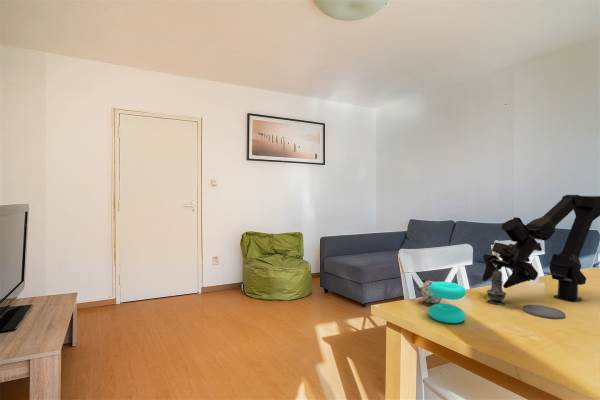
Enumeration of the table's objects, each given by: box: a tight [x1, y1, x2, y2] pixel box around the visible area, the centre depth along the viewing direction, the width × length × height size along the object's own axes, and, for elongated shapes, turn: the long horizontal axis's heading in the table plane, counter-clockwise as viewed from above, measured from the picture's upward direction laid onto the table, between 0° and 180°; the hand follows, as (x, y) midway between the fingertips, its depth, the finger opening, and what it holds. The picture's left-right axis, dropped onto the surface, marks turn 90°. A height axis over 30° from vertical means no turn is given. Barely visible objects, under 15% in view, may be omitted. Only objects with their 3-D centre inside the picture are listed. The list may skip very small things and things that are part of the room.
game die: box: [417, 278, 443, 304], centre depth 114 cm, size 9×8×10 cm
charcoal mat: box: [522, 304, 566, 320], centre depth 108 cm, size 11×11×1 cm
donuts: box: [428, 281, 467, 324], centre depth 101 cm, size 10×10×10 cm
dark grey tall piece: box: [486, 268, 507, 306], centre depth 117 cm, size 6×6×12 cm
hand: (493, 283), depth 117 cm, fingers open, 9 cm apart
